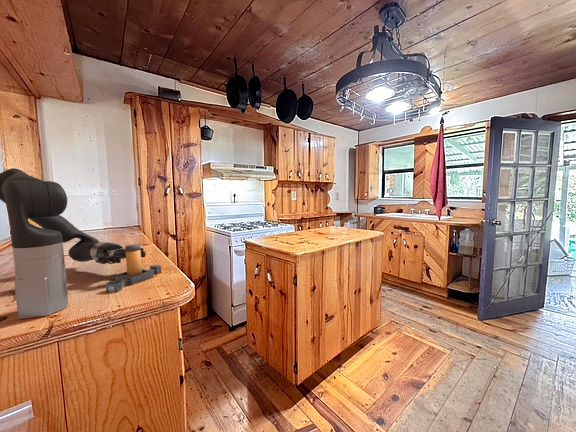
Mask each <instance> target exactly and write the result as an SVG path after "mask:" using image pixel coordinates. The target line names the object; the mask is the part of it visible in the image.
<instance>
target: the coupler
mask: <svg viewBox="0 0 576 432" xmlns="http://www.w3.org/2000/svg"><path fill="white" fill-rule="evenodd" d="M124 248H125V250H126V258H125V262H126V272H127V276H135V275H138V274H142V269H143V268H142V257H141V251H140V248H141V244H129V245H125V247H124Z"/></svg>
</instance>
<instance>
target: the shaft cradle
mask: <svg viewBox="0 0 576 432" xmlns="http://www.w3.org/2000/svg"><path fill="white" fill-rule="evenodd" d="M161 272H162V265H158V264H153V265H150V266H149V269H144V268H142V274H138V275H135V276H127V271H124V272H123V271H122V272H120V273H118V274H115V275H114V278H115V280H111V281H108V282H106V283H105V292H106V293H117V292H118V293H119V292H120V291H122V290H123V288H125V287H127V286H129V285H130V286H133V285H136V284H139V283H142V282H145V281H148V280H150V279H154V278H155V275H158V274H161Z"/></svg>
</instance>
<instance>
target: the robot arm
mask: <svg viewBox="0 0 576 432" xmlns="http://www.w3.org/2000/svg"><path fill="white" fill-rule="evenodd" d="M62 186H63V185H61V184H59V183H57V182H55V181H51V180H42V179H40V178H37V177H35V176H32V175H29V174H28V173H26V172H24V170H21V169H19V168H16V167H14V168H9V169H5V170H4V171H2V172H0V201H1V202H3V203H4V204H5V207H6V211H7V216H8V220H9V221H8V222H9V227H10V237H11V238H10V239H11V247H12V249H11V250H12V256H13V264H14V265H13V266H14V275H15V280H14V292H15V300H16V301H15V302H16V308H17V309H16V310H17V316H18V317H17V318H18V320H21V319H30V318H32V319H33V318H37V317H38V318H39V317H47V316H50V315H52V314H54V313H57V312H59V311H61V310H64V309H65V308H67V307H68V306H69V303H70V302H69V294H68V293H69V292H68V284H67V283H68V282H67V271H66V262H65V253H64V244H65V243H68V242H70V241H72V240H74V239H79V240H78V242H76V243H75V244H73V245H72V246H71V247H70V248H69V250H68V256H69V258H71V259H72V260H73V261H76V262H80V263H81V262H82V263H83V262H84V263H85V262H89V261H95V263H98V264H101V265H106V264H109V265H113V264H120V263H122V262H121V261H122V260H126V250H125V247H123V246H122V245H120V244H119V243H113V242H108V241H100V240H98V239H97V238H95V237H94V236H91V235H89V234H87V233H85V232H83V231H81V230H80V229H79V228H77V227H76V226H74V224H72V223H71V222H70V221H69V220H68V219H67V218H65V217H64V216H62V214H63V213H64V212H65V210H66V209H67V206H68V196H67V194H66V191H65V189H64V188H63V187H62ZM29 220H30V221H32V222H34V224H37V225H38V226H37V225H34V224H32V223H30V221H29ZM39 226H40V227H39ZM140 251H141V258H146V255H147V254H146V251H144V248H143V247H140Z"/></svg>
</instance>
